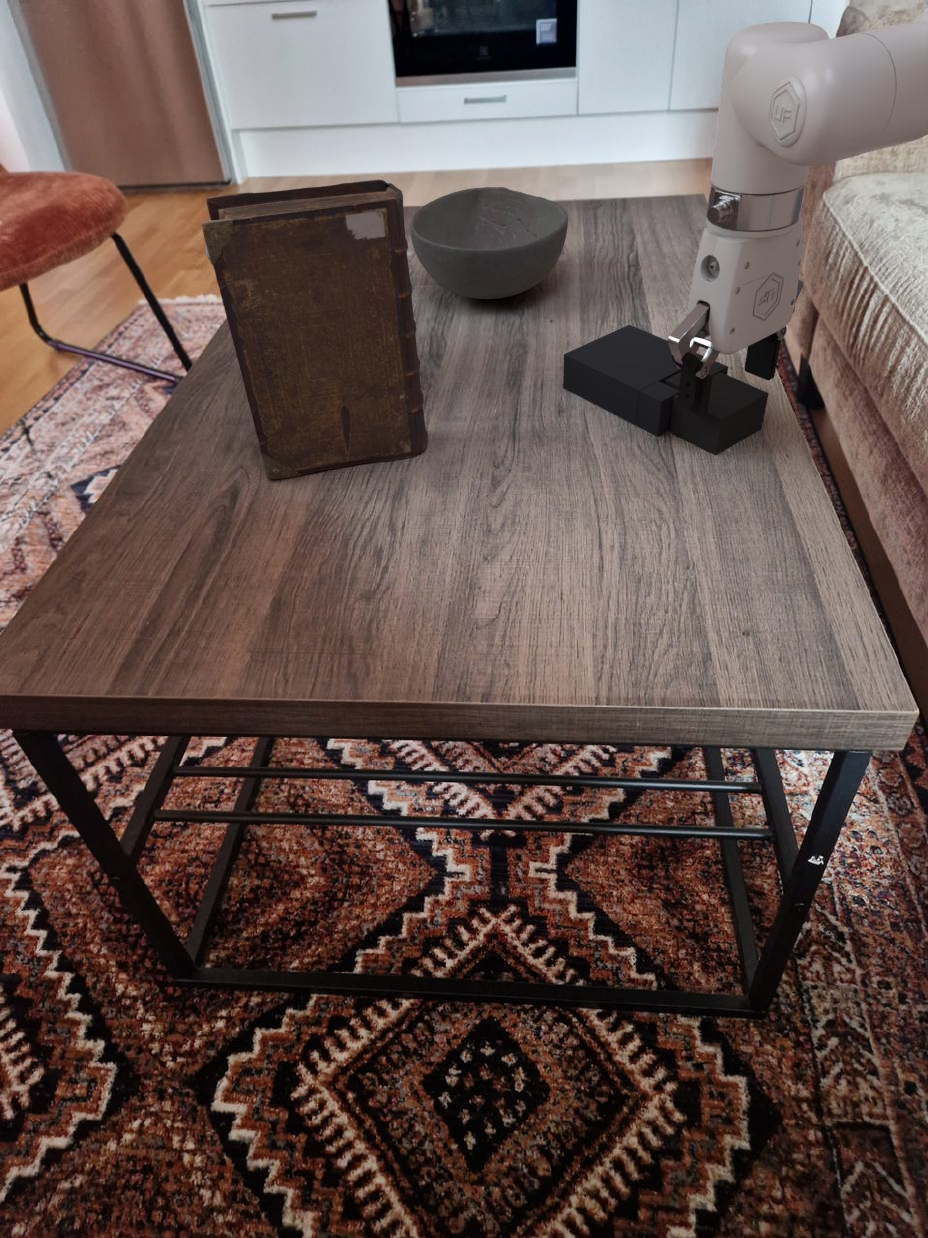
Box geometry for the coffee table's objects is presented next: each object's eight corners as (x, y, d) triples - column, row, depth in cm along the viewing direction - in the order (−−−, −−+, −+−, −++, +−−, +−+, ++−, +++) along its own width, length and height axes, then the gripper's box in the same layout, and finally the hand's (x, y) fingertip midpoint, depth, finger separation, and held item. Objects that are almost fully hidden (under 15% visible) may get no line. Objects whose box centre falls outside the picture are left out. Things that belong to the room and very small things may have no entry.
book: (428, 429, 89) (400, 173, 72) (432, 467, 84) (403, 200, 67) (270, 445, 89) (204, 192, 72) (264, 484, 84) (192, 221, 67)
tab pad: (761, 428, 85) (769, 392, 82) (715, 455, 82) (721, 419, 80) (694, 397, 90) (698, 362, 88) (648, 421, 88) (651, 386, 85)
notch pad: (723, 401, 89) (728, 366, 87) (657, 436, 85) (661, 401, 83) (626, 357, 98) (629, 324, 95) (563, 387, 94) (563, 353, 91)
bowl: (395, 318, 109) (385, 239, 102) (443, 257, 123) (437, 183, 116) (548, 329, 104) (548, 246, 97) (580, 264, 118) (582, 187, 111)
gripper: (721, 244, 65) (696, 440, 76) (856, 187, 72) (814, 374, 83) (648, 222, 69) (634, 410, 81) (781, 171, 76) (752, 351, 88)
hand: (726, 392), depth 82 cm, fingers open, 9 cm apart
